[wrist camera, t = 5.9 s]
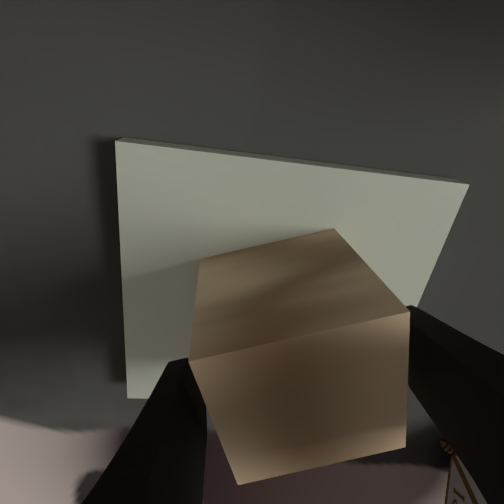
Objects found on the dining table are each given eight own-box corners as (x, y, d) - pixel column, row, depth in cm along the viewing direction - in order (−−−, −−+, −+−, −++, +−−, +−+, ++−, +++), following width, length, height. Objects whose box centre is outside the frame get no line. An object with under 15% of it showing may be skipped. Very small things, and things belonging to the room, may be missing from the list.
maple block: (334, 228, 11) (410, 311, 7) (343, 332, 14) (405, 447, 9) (199, 258, 11) (188, 361, 7) (231, 358, 14) (238, 485, 9)
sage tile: (450, 178, 12) (469, 184, 11) (368, 384, 17) (376, 400, 16) (123, 137, 10) (115, 140, 9) (133, 380, 15) (127, 398, 14)
